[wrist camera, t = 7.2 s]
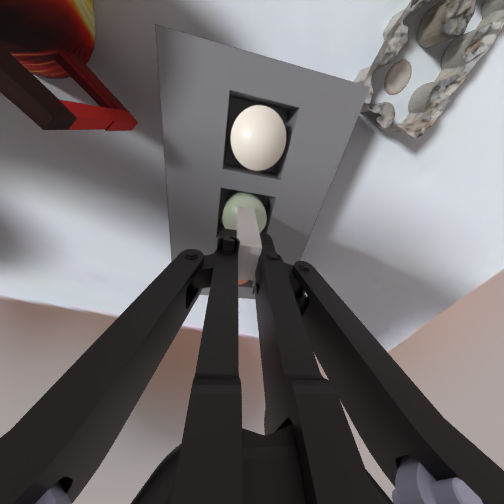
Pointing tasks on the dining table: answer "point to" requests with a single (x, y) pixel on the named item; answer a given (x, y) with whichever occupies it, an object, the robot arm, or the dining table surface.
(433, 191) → the dining table surface
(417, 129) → the egg carton
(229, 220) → the sage button
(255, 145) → the cream button
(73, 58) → the mug
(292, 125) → the console
